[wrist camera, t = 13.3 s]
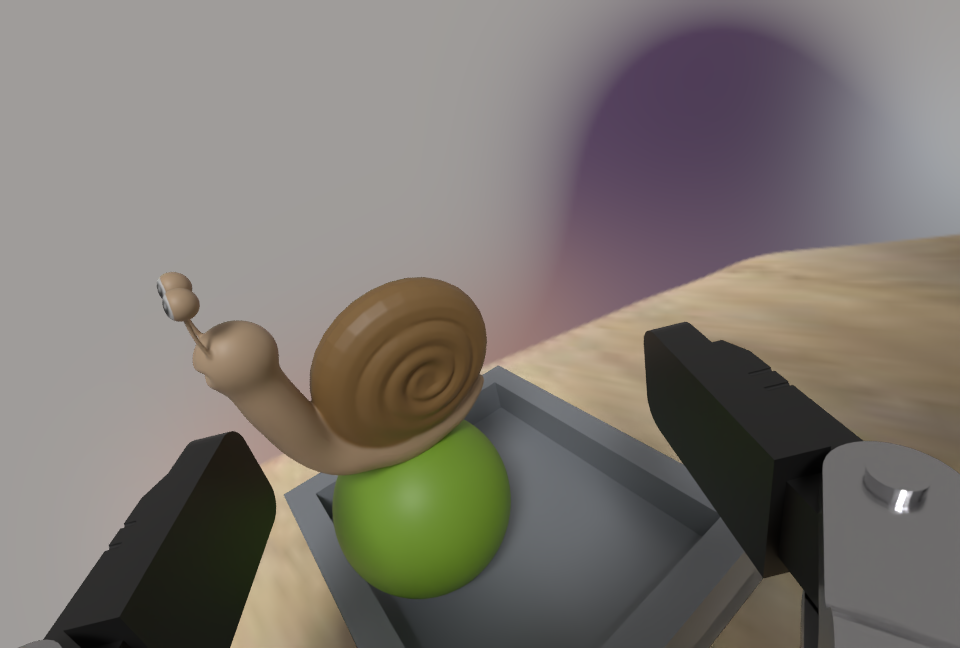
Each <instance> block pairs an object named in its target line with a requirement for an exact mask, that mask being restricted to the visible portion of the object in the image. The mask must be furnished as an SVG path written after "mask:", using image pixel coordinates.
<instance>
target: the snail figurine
mask: <svg viewBox="0 0 960 648" xmlns="http://www.w3.org/2000/svg"><path fill="white" fill-rule="evenodd" d="M157 289H158V293H159V295H160V296H161V298H162V299H163V308H164V311H165V313H166V314H167V316H168V317H169V318H170V319H172V320H174V321H184V323H185V324H186V327H187V329H188V331H189V333H190V334H191V336H192V338H193V339H194V341H195V342H196V344H197V345H196V347H195V349H194V353H193V366H194V368H195V369H196V370H197V371H198V372H200V373H202V374H204V375H205V378H206V382H207V384H208V386H209V387H211V388H212V389H214V390H216V391H218V392H220V393H222V394H224V395H225V396H227V397H228V398H229V399H230V400H232V402H233V403H234V404H235V405H236V406H237V407H238V409H239V410H240V411H241V413H242V414H243V415H244V416H245V417H246V419H247V420H248V421H249V422H250V423H251V424H252V425H253V426H254V427H255V428H256V429H257V430H258V431H260V432H261V433H262V434H263V435H264V436H265V437H266V438H267V439H268V440H269V441H270V442H271V443H272V444H273V445H275V446H276V447H277V448H278V449H279V450H280V451H282V452H283V453H284V454H286V455H287V456H288V457H290V458H292V459H293V460H295V461H296V462H298V463H300V464H302V465H304V466H306V467H308V468H310V469H312V470H315V471H318V472H321V473H325V474H329V475H338V477H337V480H336V484H335V488H334V494H333V505H332V511H333V523H334V529H335V533H336V537H337V540H338V542H339V545H340V547H341V550H342V552H343V554H344V555H345V557H346V559H347V560H348V562H349V563H350V565H351V566H352V567H353V569H354V570H355V571H356V572H357V573H358V574H359V575H360V576H361V577H362V578H363V579H364V580H365V581H367V582H368V583H369V584H371V585H372V586H374V587H375V588H377V589H379V590H381V591H383V592H385V593H388V594H390V595H393V596H397V597H401V598H407V599H428V598H435V597H439V596H443V595H446V594H448V593H451V592H453V591H455V590H457V589H459V588H461V587H463V586H465V585H466V584H468V583H469V582H470V581H472V580H473V579H474V578H476V577H477V576H478V575H479V574H480V573H481V572H482V571H483V570H484V569H485V568H486V567H487V565H488V564H489V563H490V562H491V560H492V559H493V557H494V556H495V554H496V553H497V551H498V549H499V547H500V545H501V543H502V541H503V539H504V536H505V533H506V530H507V527H508V522H509V517H510V509H511V492H510V484H509V479H508V475H507V471H506V468H505V466H504V463H503V461H502V459H501V457H500V455H499V453H498V451H497V450H496V448H495V447H494V445H493V444H492V443H491V441H490V440H489V439H488V438H487V437H486V436H485V435H484V434H483V433H482V432H481V431H480V430H479V429H478V428H477V427H475V426H474V425H472V424H471V423H469V422H468V421H466V420H464V418H465V417H466V416H467V415H468V413H469V412H470V410H471V409H472V407H473V405H474V404H475V402H476V400H477V398H478V396H479V394H480V392H481V390H482V387H483V383H484V378H483V376H482V375H481V374H479V373H480V371H481V369H482V366H483V362H484V359H485V354H486V344H487V337H486V329H485V324H484V321H483V318H482V315H481V313H480V311H479V309H478V308H477V306H476V305H475V303H474V302H473V301H472V299H471V298H470V297H469V296H468V295H467V294H465V293H464V292H463V291H462V290H461V289H459V288H458V287H456V286H454V285H451V284H449V283H446V282H444V281H441V280H437V279H432V278H425V277H417V278H404V279H400V280H397V281H392V282H389V283H386V284H384V285H382V286H379V287H377V288H375V289H373V290H370V291H369V292H367V293H365V294H364V295H362V296H361V297H359V298H358V299H357V300H355V301H354V302H352V303H351V304H350V305H349V306H348V307H347V308H346V309H345V310H344V311H342V312H341V313H340V314H339V315H338V316H337V317H336V319H335V320H334V321H333V323H332V324H331V325H330V327H329V328H328V329H327V331H326V332H325V333H324V335H323V337H322V339H321V341H320V343H319V345H318V347H317V349H316V351H315V354H314V358H313V361H312V365H311V370H310V393H311V398H312V400H311V401H308V400H307V398H306V397H305V396H304V395H303V394H302V393H301V392H300V391H299V390H298V389H297V388H296V387H295V386H294V384H293V383H292V382H291V381H290V380H289V379H288V378H287V376H286V375H285V374H284V372H283V371H282V370H281V368H280V366H279V357H278V356H279V354H278V348H277V344H276V342H275V340H274V338H273V337H272V335H271V334H270V333H269V332H268V331H267V330H265V329H264V328H263V327H261V326H259V325H257V324H255V323H252V322H247V321H228V322H224V323H221V324H218V325H217V326H214V327H213V328H211V329H210V330H209V331H207V332H206V333H204V334H203V333H201V332H200V331H199V330H198V329H197V328H196V327H195V326H194V324H193V323H192V321H191V320H190V319H191V318H193V317H194V316H195V315H196V314H197V313H198V311H199V307H200V305H199V300H198V298H197V296H196V295H195V294H194V293H193V292H192V284H191V282H190V281H189V279H188V278H187V277H186V276H184V275H182V274H180V273H176V272H169V273H165V274H163V275H162V276H161V277H160V278H159V279H158V281H157ZM196 335H197V336H198V337H199V339H198V338H197V336H196Z"/></svg>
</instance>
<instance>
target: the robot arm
mask: <svg viewBox="0 0 960 648" xmlns="http://www.w3.org/2000/svg"><path fill="white" fill-rule="evenodd" d="M644 354H645V369H646V384H647V398H648V403H649V407H650V411H651V414H652V416H653V419H654V421H655V423H656V425H657V427H658V428H659V430H660V431H661V433H662V434H663V436H664V437H665V438H666V440H667V441H668V443H669V444H670V446H671V447H672V448H673V450H674V451H675V453H676V454H677V456H678V457H679V458H680V460H681V461H682V463H683V464H684V466H685V467H686V468H687V470H688V471H689V473H690V474H691V476H692V477H693V479H694V480H695V481H696V483H697V484H698V486H699V487H700V489H701V490H702V491H703V493H704V494H705V496H706V497H707V499H708V500H709V501H710V503H711V504H712V506H713V507H714V509H715V510H716V511H717V513H718V514H719V516H720V517H721V519H722V520H723V521H724V523H725V524H726V526H727V527H728V529H729V530H730V532H731V533H732V534H733V536H734V537H735V539H736V540H737V542H738V543H739V544H740V546H741V547H742V549H743V550H744V552H745V553H746V554H747V556H748V557H749V559H750V560H751V562H752V563H753V564H754V566H755V567H756V569H757V570H758V572H759V573H760V574H761V576H762V577H763V578H766V577H771V576H775V575H779V574H783V573H787V572H790V573H791V574H792V575H793V577H794V578H795V579H796V581H797V582H798V583H799V584H800V586H801V587H802V588H803V594H802V601H801V647H800V648H960V474H959V473H958V472H956V471H955V470H954V469H952V468H951V467H950V466H948V465H946V464H945V463H943V462H941V461H940V460H938V459H936V458H934V457H932V456H929V455H927V454H925V453H922V452H920V451H917V450H915V449H911V448H908V447H905V446H901V445H896V444H892V443H886V442H877V441H863V440H862V439H860V438H859V437H858V436H856V435H855V434H854V433H853V432H851V431H850V430H849V429H848V428H846V427H845V426H844V425H843V424H841V423H840V422H839V421H838V420H836V419H835V418H834V417H833V416H831V415H830V414H829V413H827V412H826V411H825V410H824V409H822V408H821V407H820V406H819V405H817V404H816V403H815V402H814V401H812V400H811V399H810V398H809V397H807V396H806V395H805V394H804V393H802V392H801V391H800V390H798V389H797V388H796V387H795V386H793V385H791V386H790V385H789V383H788V381H787V380H786V379H785V378H783V377H782V376H781V375H780V374H778V373H777V372H776V371H772V370H771V367H769V366H768V365H767V364H766V363H764V362H763V361H762V360H761V359H759V358H758V357H757V356H756V355H754V354H753V353H752V352H751V351H749V350H746V349H743V348H741V347H738V346H736V345H733V344H731V343H728V342H726V341H723V340H720V341H716V342H711V341H710V340H709V339H707V338H706V337H705V336H704V335H703V334H702V333H700V332H699V331H698V330H697V329H696V328H695V327H694V326H692V325H691V324H690V323H688V322H682V323H678V324H674V325H670V326H666V327H662V328H658V329H654V330H649V331H647V332H646V333H645V335H644ZM275 515H276V500H275V495H274V491H273V489H272V487H271V485H270V483H269V481H268V479H267V478H266V476H265V474H264V473H263V471H262V469H261V467H260V466H259V464H258V462H257V460H256V459H255V457H254V455H253V454H252V452H251V450H250V448H249V447H248V445H247V443H246V441H245V440H244V438H243V437H242V436H241V435H240V434H239V433H237V432H234V431H232V432H227V433H223V434H219V435H215V436H211V437H206V438H203V439H199V440H194V441H192V442H190V443H189V444H188V445H187V446H186V448H185V449H184V451H183V452H182V454H181V455H180V457H179V458H178V460H177V461H176V463H175V464H174V466H173V467H172V469H171V470H170V472H169V473H168V474H167V475H166V476H165V477H164V478H163V479H162V480H161V481H159V482H158V484H156V485H155V486H154V487H153V488H152V489H151V490H150V491H149V492H148V493H147V494H146V495H144V497H142V498H141V500H140V501H139V503H138V504H137V506H136V507H135V508H134V510H133V511H132V513H131V514H130V516H129V517H128V519H127V520H126V522H125V523H124V525H125V527H124V528H122V529H120V530H119V532H118V533H117V534H116V536H115V537H114V539H113V540H112V542H111V543H110V544H109V550H108V551H105V552H104V553H103V555H102V556H101V557H100V559H99V560H98V562H97V563H96V565H95V566H94V567H93V569H92V570H91V572H90V573H89V575H88V576H87V578H86V579H85V580H84V582H83V583H82V585H81V586H80V588H79V589H78V591H77V592H76V593H75V595H74V596H73V598H72V599H71V601H70V602H69V603H68V605H67V606H66V608H65V609H64V611H63V612H62V614H61V615H60V616H59V618H58V619H57V621H56V622H55V623H54V625H53V626H52V628H51V629H50V631H49V632H48V634H47V635H46V637H45V638H44V639H43V640H39V641H35V642H32V643H29V644H26V645H24V646H21V647H19V648H230V646H231V644H232V641H233V638H234V635H235V632H236V629H237V626H238V624H239V621H240V618H241V615H242V612H243V609H244V606H245V603H246V601H247V598H248V595H249V592H250V589H251V586H252V583H253V581H254V578H255V575H256V572H257V569H258V566H259V563H260V560H261V558H262V555H263V552H264V549H265V546H266V543H267V540H268V538H269V535H270V532H271V529H272V526H273V523H274V520H275Z"/></svg>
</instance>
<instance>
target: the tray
mask: <svg viewBox="0 0 960 648" xmlns="http://www.w3.org/2000/svg"><path fill="white" fill-rule="evenodd" d="M482 376H483V378H484V383H483V387H482V390H481V392H480V394H479V396H478V398H477V400H476V402H475V404H474V405H473V407H472V409H471V410H470V412H469V413H468V415H467V416H466V417H465V418H464V420H466V421H468V422H469V423H471V424H472V425H474V426H475V427H477V428H478V429H479V430H480V431H481V432H482V433H483V434H484V435H485V436H486V437H487V438H488V439H489V440H490V441H491V443H492V444H493V445H494V447H495V448H496V450H497V451H498V453H499V455H500V457H501V459H502V461H503V463H504V466H505V468H506V471H507V475H508V479H509V484H510V492H511V509H510V517H509V522H508V527H507V530H506V533H505V536H504V539H503V541H502V543H501V545H500V547H499V549H498V551H497V553H496V554H495V556H494V557H493V559H492V560H491V562H490V563H489V564H488V565H487V567H486V568H485V569H484V570H483V571H482V572H481V573H480V574H479V575H478V576H477V577H476V578H474V579H473V580H472V581H470V582H469V583H468V584H466V585H465V586H463V587H461V588H459V589H457V590H455V591H453V592H451V593H448V594H446V595H443V596H439V597H435V598H428V599H407V598H401V597H397V596H393V595H390V594H388V593H385V592H383V591H381V590H379V589H377V588H375V587H374V586H372V585H371V584H369V583H368V582H367V581H365V580H364V579H363V578H362V577H361V576H360V575H359V574H358V573H357V572H356V571H355V570H354V569H353V567H352V566H351V565H350V563H349V562H348V560H347V559H346V557H345V555H344V554H343V552H342V550H341V547H340V545H339V542H338V540H337V537H336V533H335V529H334V523H333V511H332V505H333V494H334V488H335V484H336V480H337V477H338V475H329V474H325V473H319V474H317V475H316V476H314V477H312V478H311V479H309V480H307V481H306V482H304V483H302V484H301V485H299V486H297V487H296V488H294V489H292V490H291V491H289V492H287V493H286V494H284V496H285V498H286V501H287V503H288V505H289V507H290V509H291V511H292V513H293V515H294V517H295V519H296V521H297V523H298V525H299V527H300V530H301V532H302V534H303V536H304V538H305V540H306V542H307V544H308V546H309V548H310V550H311V552H312V554H313V556H314V559H315V561H316V563H317V565H318V567H319V569H320V571H321V573H322V575H323V577H324V579H325V581H326V583H327V586H328V588H329V590H330V592H331V594H332V596H333V598H334V600H335V602H336V604H337V606H338V608H339V610H340V612H341V615H342V617H343V619H344V621H345V623H346V625H347V627H348V629H349V631H350V633H351V635H352V637H353V639H354V642H355V644H356V646H357V648H709V647H710V646H711V645H712V643H713V642H714V641H715V639H716V638H717V637H718V636H719V634H720V633H721V632H722V630H723V629H724V628H725V627H726V625H727V624H728V623H729V621H730V620H731V619H732V618H733V616H734V615H735V614H736V612H737V611H738V610H739V608H740V607H741V606H742V605H743V603H744V602H745V601H746V599H747V598H748V597H749V596H750V594H751V593H752V592H753V590H754V589H755V588H756V587H757V585H758V584H759V583H760V581H761V580H762V579H763V577H762V576H761V574H760V573H759V572H758V570H757V569H756V567H755V566H754V564H753V563H752V562H751V560H750V559H749V557H748V556H747V554H746V553H745V552H744V550H743V549H742V547H741V546H740V544H739V543H738V542H737V540H736V539H735V537H734V536H733V534H732V533H731V532H730V530H729V529H728V527H727V526H726V524H725V523H724V521H723V520H722V519H721V517H720V516H719V514H718V513H717V511H716V510H715V509H714V507H713V506H712V504H711V503H710V501H709V500H708V499H707V497H706V496H705V494H704V493H703V491H702V490H701V489H700V487H699V486H698V484H697V483H696V481H695V480H694V479H693V477H692V476H691V474H690V473H689V471H688V470H687V468H686V467H685V466H684V465H683V464H681V463H679V462H677V461H675V460H674V459H672V458H670V457H668V456H666V455H664V454H662V453H661V452H659V451H657V450H655V449H653V448H651V447H649V446H648V445H646V444H644V443H642V442H640V441H638V440H636V439H634V438H633V437H631V436H629V435H627V434H625V433H623V432H621V431H620V430H618V429H616V428H614V427H612V426H610V425H608V424H606V423H605V422H603V421H601V420H599V419H597V418H595V417H593V416H592V415H590V414H588V413H586V412H584V411H582V410H580V409H579V408H577V407H575V406H573V405H571V404H569V403H567V402H565V401H564V400H562V399H560V398H558V397H556V396H554V395H552V394H551V393H549V392H547V391H545V390H543V389H541V388H539V387H538V386H536V385H534V384H532V383H530V382H528V381H526V380H524V379H523V378H521V377H519V376H517V375H515V374H513V373H511V372H510V371H508V370H506V369H504V368H502V367H500V366H497V367H495V368H493V369H492V370H490V371H488V372H487V373H485V374H483V375H482Z"/></svg>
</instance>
